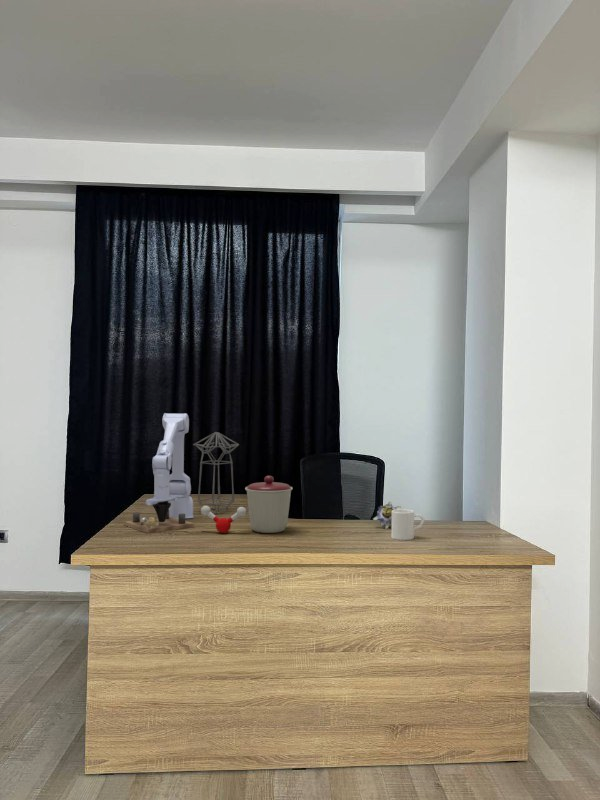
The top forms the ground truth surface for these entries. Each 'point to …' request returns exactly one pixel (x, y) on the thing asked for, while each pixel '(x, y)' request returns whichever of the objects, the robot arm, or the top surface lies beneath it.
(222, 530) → the molecular model
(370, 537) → the top surface
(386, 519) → the passion flower
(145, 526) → the wooden board with pegs
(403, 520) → the mug
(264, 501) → the canister
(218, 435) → the geometric lantern
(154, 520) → the metal crank handle
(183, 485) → the robot arm
